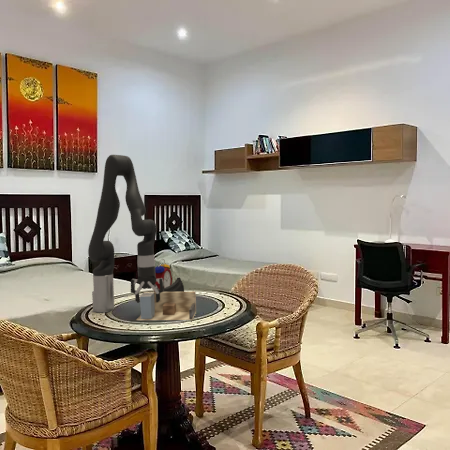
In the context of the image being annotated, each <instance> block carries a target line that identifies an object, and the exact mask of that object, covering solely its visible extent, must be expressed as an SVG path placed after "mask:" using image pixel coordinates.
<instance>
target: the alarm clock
mask: <svg viewBox="0 0 450 450" xmlns="http://www.w3.org/2000/svg"><path fill="white" fill-rule="evenodd" d="M161 261H163V263H162V264H161ZM155 275H156V279H160V278H163V283H164V288H166V287H168V286H170V285H172V284H173V276H172V271H171V267H170V265H169V264H168V263H166V261H165V259H164V258H161V259H160V260H159V262H158V265H156V266H155ZM155 285H156V286H157V288H158V289H159V290H160V284H159V283H158V282H156V283H155ZM153 292H155V291H154V290H153Z"/></svg>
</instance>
